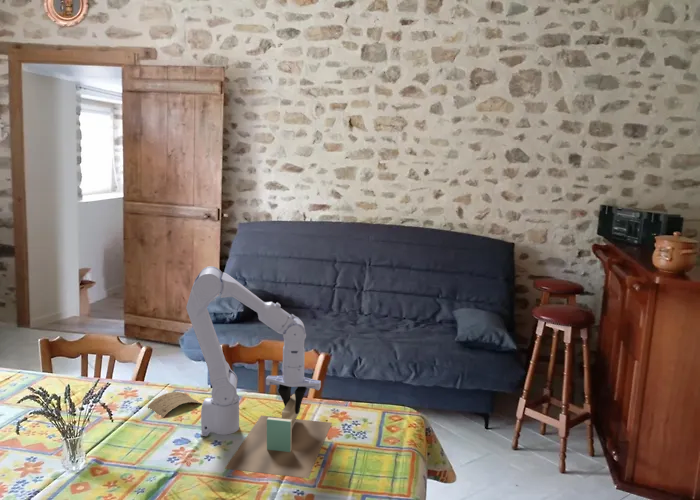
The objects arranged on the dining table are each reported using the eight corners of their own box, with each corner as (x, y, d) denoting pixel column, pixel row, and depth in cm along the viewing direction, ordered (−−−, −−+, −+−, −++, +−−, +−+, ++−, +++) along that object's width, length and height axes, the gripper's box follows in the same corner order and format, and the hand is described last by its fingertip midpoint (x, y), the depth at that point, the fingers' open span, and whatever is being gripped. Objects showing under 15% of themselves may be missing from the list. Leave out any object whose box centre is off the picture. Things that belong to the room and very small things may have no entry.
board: (224, 472, 142) (224, 468, 142) (261, 418, 170) (261, 415, 169) (308, 482, 139) (308, 478, 139) (331, 426, 166) (331, 422, 166)
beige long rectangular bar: (281, 429, 157) (281, 411, 156) (292, 411, 168) (292, 394, 167) (289, 430, 157) (289, 412, 156) (299, 411, 167) (299, 394, 166)
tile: (266, 449, 151) (266, 419, 150) (268, 447, 152) (268, 417, 151) (290, 452, 150) (290, 421, 149) (291, 449, 151) (291, 419, 150)
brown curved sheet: (161, 420, 168) (161, 411, 168) (142, 409, 175) (142, 400, 174) (205, 404, 179) (205, 396, 178) (186, 394, 186) (186, 386, 185)
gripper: (323, 360, 164) (322, 408, 167) (271, 356, 166) (271, 402, 169) (317, 370, 157) (316, 419, 160) (263, 365, 159) (263, 414, 162)
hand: (292, 411), depth 164 cm, fingers closed on beige long rectangular bar, 2 cm apart
